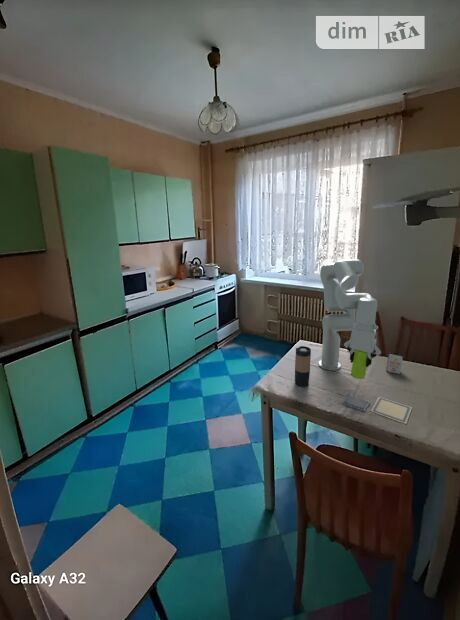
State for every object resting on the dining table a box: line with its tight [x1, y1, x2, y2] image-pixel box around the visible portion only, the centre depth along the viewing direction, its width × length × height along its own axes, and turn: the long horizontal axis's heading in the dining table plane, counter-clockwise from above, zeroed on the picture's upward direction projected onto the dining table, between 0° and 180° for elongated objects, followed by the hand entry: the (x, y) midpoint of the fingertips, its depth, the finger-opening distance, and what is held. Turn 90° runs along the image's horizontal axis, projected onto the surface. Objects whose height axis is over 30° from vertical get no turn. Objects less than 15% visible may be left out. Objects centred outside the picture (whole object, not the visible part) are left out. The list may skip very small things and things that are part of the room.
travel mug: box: [294, 345, 312, 388], centre depth 151 cm, size 8×8×20 cm
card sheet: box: [370, 396, 413, 425], centre depth 131 cm, size 14×14×1 cm
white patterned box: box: [385, 353, 404, 375], centre depth 161 cm, size 4×7×10 cm, turn 55°
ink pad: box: [341, 394, 371, 413], centre depth 135 cm, size 8×10×1 cm
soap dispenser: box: [350, 340, 371, 380], centre depth 128 cm, size 6×7×20 cm
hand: (360, 363), depth 130 cm, fingers closed on soap dispenser, 6 cm apart
